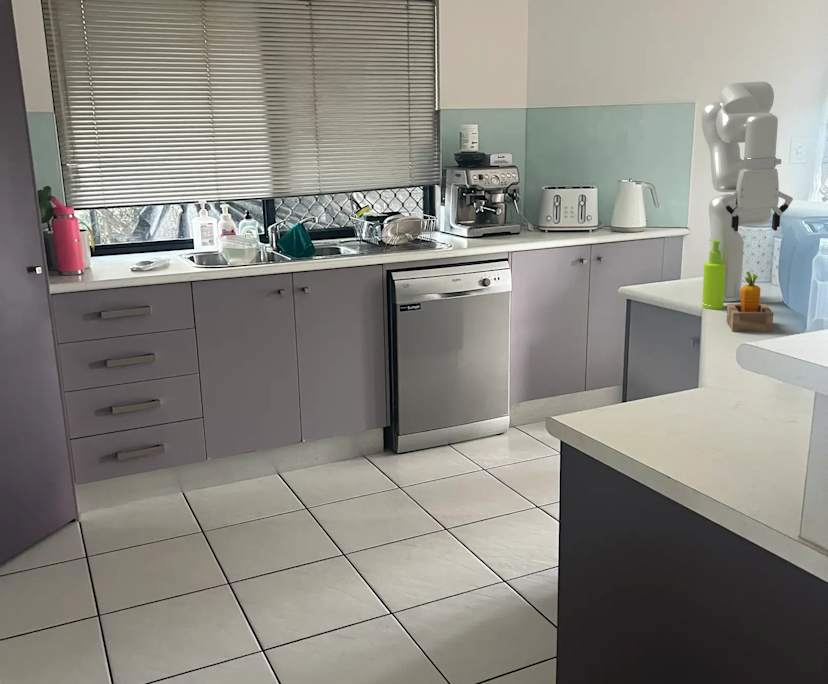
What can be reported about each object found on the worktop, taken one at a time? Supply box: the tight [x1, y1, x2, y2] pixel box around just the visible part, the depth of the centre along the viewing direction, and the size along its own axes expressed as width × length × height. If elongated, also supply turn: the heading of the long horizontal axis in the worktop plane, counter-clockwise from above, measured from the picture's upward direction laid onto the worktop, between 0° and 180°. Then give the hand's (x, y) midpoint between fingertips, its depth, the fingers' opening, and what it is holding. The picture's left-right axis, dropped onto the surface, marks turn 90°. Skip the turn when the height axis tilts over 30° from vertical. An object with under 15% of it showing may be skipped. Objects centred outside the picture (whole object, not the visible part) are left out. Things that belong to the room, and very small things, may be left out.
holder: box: [726, 303, 774, 332], centre depth 227 cm, size 10×10×5 cm
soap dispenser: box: [701, 238, 725, 310], centre depth 246 cm, size 6×7×20 cm
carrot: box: [740, 271, 761, 312], centre depth 225 cm, size 5×5×15 cm
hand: (754, 230), depth 220 cm, fingers open, 9 cm apart
